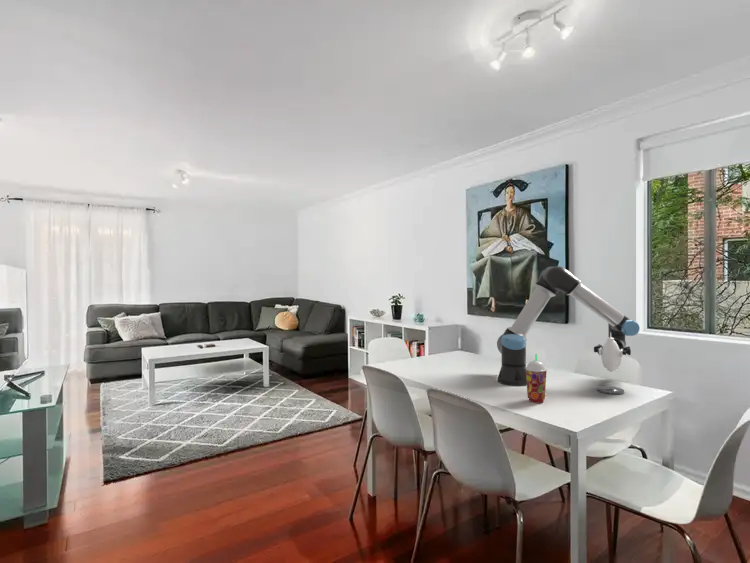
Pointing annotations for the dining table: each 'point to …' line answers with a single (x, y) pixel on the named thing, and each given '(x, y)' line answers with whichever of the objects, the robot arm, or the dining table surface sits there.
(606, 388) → the hub disc
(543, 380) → the smoothie
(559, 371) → the dining table surface
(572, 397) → the dining table surface
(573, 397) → the dining table surface
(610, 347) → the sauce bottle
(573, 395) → the dining table surface
